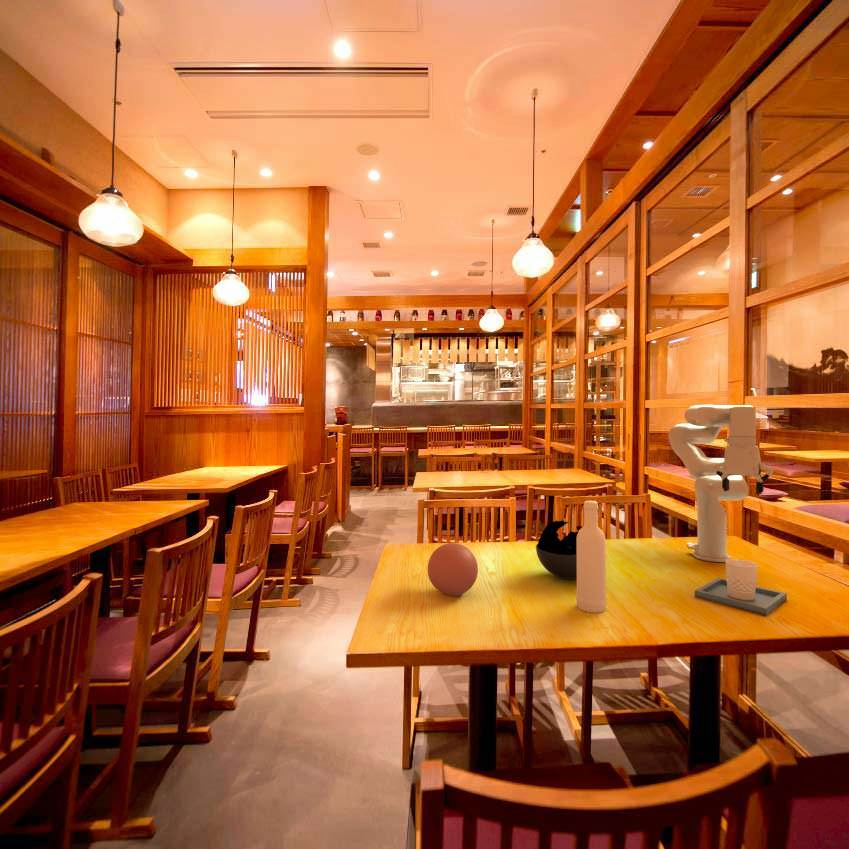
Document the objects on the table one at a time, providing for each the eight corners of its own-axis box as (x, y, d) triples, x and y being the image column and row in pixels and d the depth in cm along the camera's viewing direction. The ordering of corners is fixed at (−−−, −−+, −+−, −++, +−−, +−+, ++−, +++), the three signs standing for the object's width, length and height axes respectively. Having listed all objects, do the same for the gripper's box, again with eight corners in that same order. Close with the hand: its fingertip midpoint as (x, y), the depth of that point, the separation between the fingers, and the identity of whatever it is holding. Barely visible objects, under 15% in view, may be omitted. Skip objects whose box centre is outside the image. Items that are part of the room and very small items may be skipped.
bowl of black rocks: (530, 568, 171) (530, 515, 171) (587, 568, 170) (586, 515, 170) (543, 587, 151) (542, 528, 151) (606, 587, 150) (606, 528, 150)
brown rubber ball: (463, 578, 159) (463, 533, 159) (485, 600, 140) (485, 548, 140) (419, 582, 156) (418, 536, 156) (435, 605, 136) (434, 552, 136)
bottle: (602, 615, 129) (602, 504, 128) (573, 609, 133) (572, 502, 133) (608, 605, 135) (608, 500, 135) (580, 600, 140) (580, 498, 139)
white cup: (753, 593, 143) (752, 560, 143) (761, 602, 135) (761, 567, 135) (722, 590, 145) (722, 557, 145) (729, 599, 138) (729, 565, 138)
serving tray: (694, 597, 142) (694, 590, 142) (718, 583, 153) (718, 577, 153) (766, 616, 128) (766, 608, 128) (786, 600, 139) (786, 593, 139)
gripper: (709, 441, 165) (709, 490, 165) (769, 442, 151) (769, 496, 151) (718, 440, 170) (718, 488, 170) (776, 442, 156) (776, 494, 156)
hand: (742, 492), depth 161 cm, fingers open, 9 cm apart
